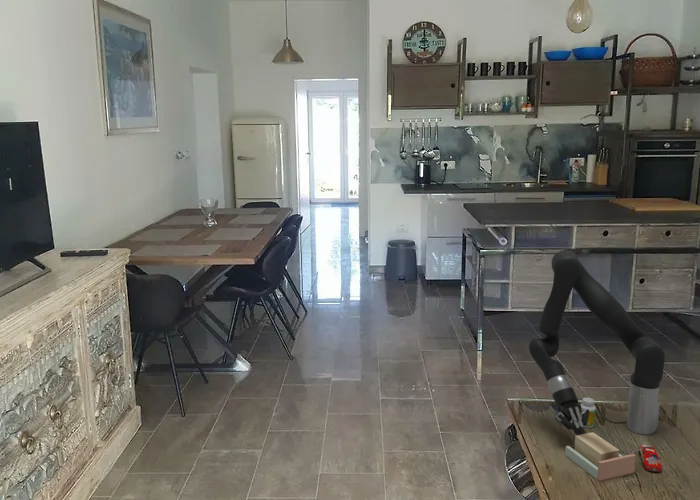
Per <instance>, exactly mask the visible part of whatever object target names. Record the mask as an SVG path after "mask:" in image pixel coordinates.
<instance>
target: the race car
mask: <svg viewBox="0 0 700 500" xmlns="http://www.w3.org/2000/svg"><path fill="white" fill-rule="evenodd" d="M638 455H639V458H640V461H641V463H642V466H643V469H644V470H646V471H648V472H652V473H661V472H663V465H662V462H661V460H662V458H661V457H659V455H658V453H657V450H656V448H655V447H654V446H652V445H647V444H641V445H640V446H639V449H638Z"/></svg>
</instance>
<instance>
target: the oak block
mask: <svg viewBox="0 0 700 500" xmlns="http://www.w3.org/2000/svg"><path fill="white" fill-rule="evenodd" d="M585 433H586V432H585ZM573 449H574V450H575V451H576V452H578V453H579V454H580V455H582V456H583V457H584V458H586V459H587V460H588V461H590V462H591V463H593V464H594V465H595V466H597V467H598V462H599V461H603V460H608V459H612V458H617V457H619V454H620V449H618V448H617V447H615V446H613V444H611V443H610V442H608V441H606V440H605V439H604V438H601V437H600V436H599V435H597V433H595V432H587V433H586V434H582V435H577V436H576V435H575V436H574V448H573Z"/></svg>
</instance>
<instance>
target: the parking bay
mask: <svg viewBox="0 0 700 500" xmlns="http://www.w3.org/2000/svg"><path fill="white" fill-rule="evenodd" d="M564 455H565V456H566V457H567V458H569V460H571V461H573V462H574V463H575V464H576V465H578V466H579V467H581V469H583V470H584V471H585V472H587V474H589V475H590V476H592V477H593V478H595V479H596V480H598V481H599V482H601V481H606V480H610V479H614V478H618V477H622V476H627V475H630V474H634V473H635V471H636V470H635V469H636V467H635V466H636V456H637V455H636V454H634V453H632V454H631V453H630V454H626V455H622V454H621V453H619V457H617V458H612V459H608V460H603V461H599V462H598V467H597V466H595V465H594V464H593V463H591V462H590V461H588V460H587V459H586V458H584V457H583V456H582V455H580V454H579V453H578V452H576V451H575V450H574V448H572V447H571V446H570V445H566V446H565V453H564Z"/></svg>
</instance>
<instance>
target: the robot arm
mask: <svg viewBox="0 0 700 500" xmlns="http://www.w3.org/2000/svg"><path fill="white" fill-rule="evenodd" d="M551 269H552V271H553V283H552V287H551V292H550V294H549V297H548V299H547V301H546V303H545V305H544V308H543V309H542V310H543V311H542V313H541V318H540V320H539V321H540V322H539V324H538V328H539V331H540V332H541V333H543V334H544V337H539V338H538V337H535V338H533V339H531V340H530V342H529V344H528V351H529V354H530V356H531V358H532V359H533V360H534V362H535V363H536V365H537V366H538V367H539V368H540V370H541V371H542V373H543V375H544V377H545V381H546V382H547V387H548V389H549V391H550V393H551V396H552V398H553V401H554V403H555V406H556V408H558V414H557V415H556V416H555V418H554V419H555V420H556V421H557V422H558V423H559V424H561V425H563V426H564V428H566V429H567V430H573V431H574V434H575V436H577V435H582V434H586V430H585V429H584V428H585V427H584V426H585V425H587V421H588V416H589V410H588V409H586V410H585V409H583V408H582V407H581V403H579V398H578V396H577V394H576V392H575V389H574V388H573V384H572V383H571V380H570V378H569V377H568V375H567V373H566V371H565V368H564V367H563V364H562V363H561V361H559V360H555V359H553V357H554V356H556V355H557V354H558V352H559V348H560V329H561V325H562V321H563V318H564V315H565V311H566V307H567V304H568V301H569V299H570V295H571V293H572V290H573V289H574V290H575V292H576V293H577V294H578V296H579V297H580V299H581V301H582V302H583V304H584V305H585V307H586V308H587V309H588V310H589V311H590V312H591V314H592V315H593V316H594V317H595V318H596V319H597V320H598V321H599V322H600V323H601V324H602V325H603V326H604V327H605V328H606V329H607V330H609V331H610V332H611V333H612V334H615V335H616V337H618V338H619V340H620V341H621V342H622V343H623V344H624V346H625V347H626V348H627V350H628V351H629V353H630V355H631V356H632V357H633V359H634V360H635V365H634V371H633V372H632V373H631V375H630V380H629V381H630V382H629V393H628V407H627V414H626V415H627V416H626V417H627V418H626V428H627V429H628V430H629V431H631V432H633V433H635V434H638V435H647V436H648V435H652V434H654V433H656V431H657V430H658V425H659V415H660V414H659V413H660V405H659V404H658V402H659V393H660V392H659V391H660V383H661V381H662V379H663V376H664V369H665V361H666V359H665V357H666V356H665V355H666V354H665V351H664V350H663V348H662V347H661V345H660V344H658V343H657V341H656V340H654V339H652V338H651V337H650V336H649V335H647V333H645V332H644V331H643V329H641V328H640V327H639V326H638V325H636V323H635V322H634V321H633V318H631V316H630V314H629V313H628V311H627V310H626V309H625V308H624V306H623V305H622V304H621V303H620V302H619V301H618V300H617V298H616V297H615V296H613V295H612V294H611V292H610V291H608V290H607V289H606V288H605V286H604V285H602V284H601V283H599V282H598V281H597V280H596V279H595V278H594V277H593V276H592V275H591V274H590V272H588V270H587V269H586V268H585V267H584V265H583V263H582V262H581V261H580V260H579V257H578V256H577V255H576V254H575V253H574V252H571V251H567V250H560V251H558V252H555V254H553V256H552V259H551ZM581 415H582V417H581Z"/></svg>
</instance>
